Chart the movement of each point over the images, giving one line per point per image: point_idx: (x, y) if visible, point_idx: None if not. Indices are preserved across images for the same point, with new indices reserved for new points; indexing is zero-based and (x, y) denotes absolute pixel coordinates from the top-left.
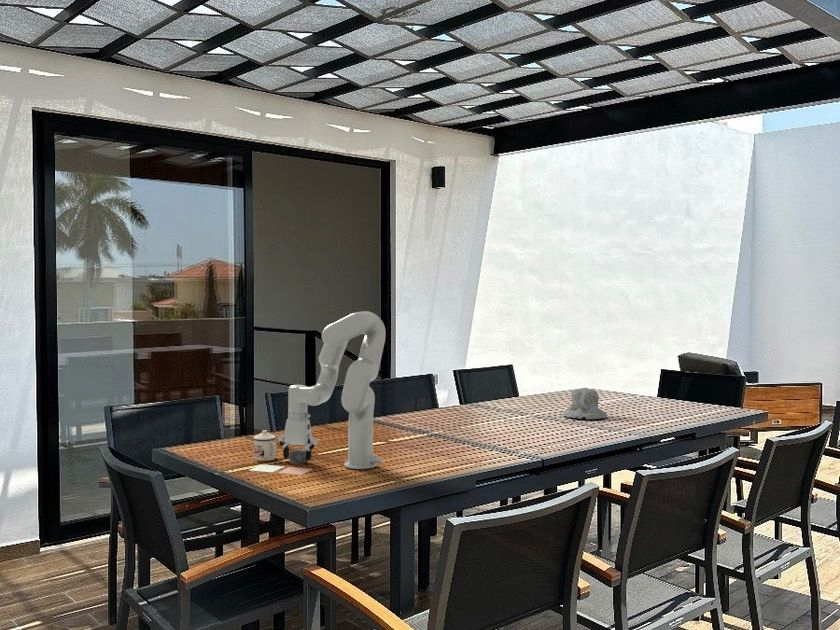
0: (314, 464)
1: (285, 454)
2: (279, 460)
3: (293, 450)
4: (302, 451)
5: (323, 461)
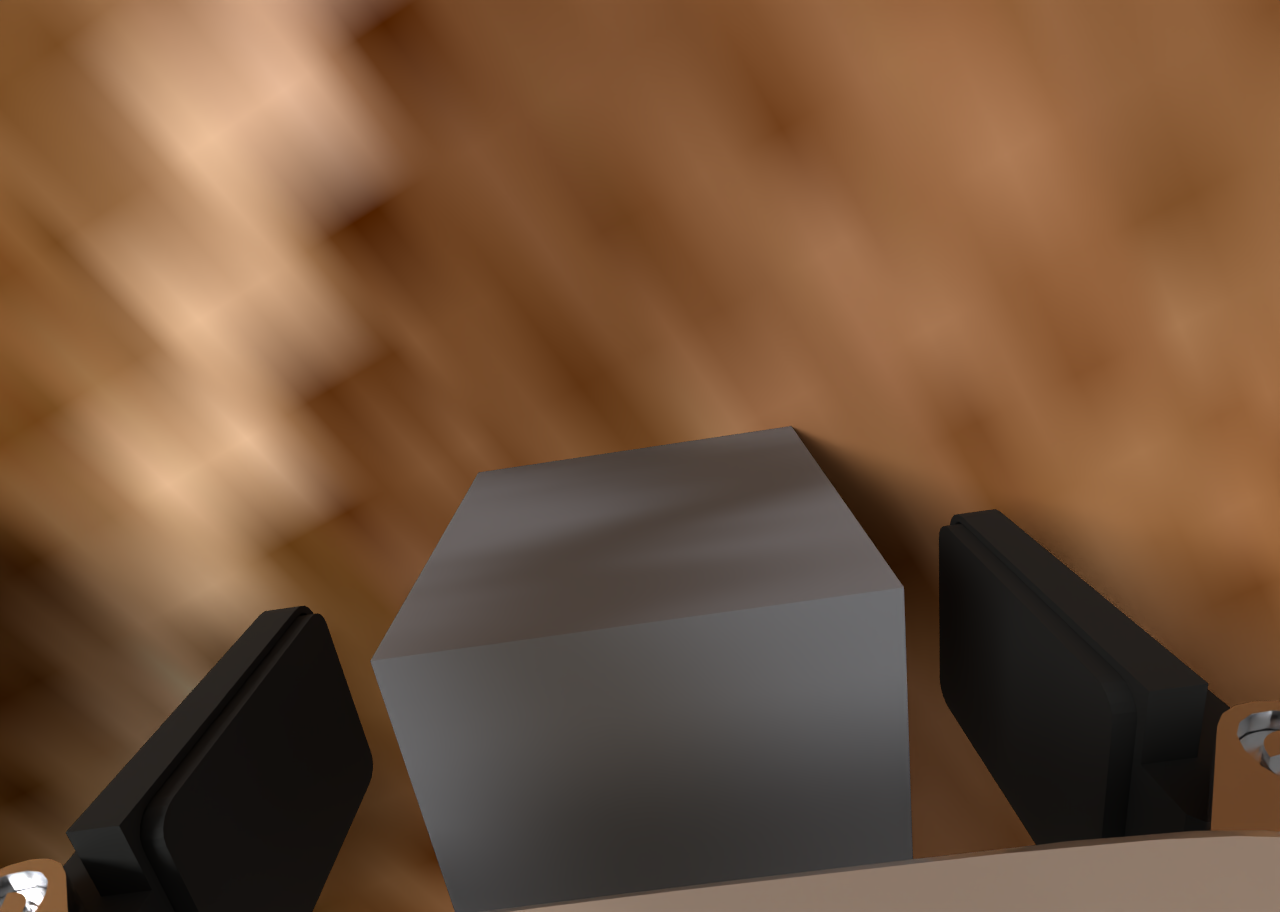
0: (1077, 505)
1: (328, 863)
2: (91, 559)
3: (464, 830)
4: (866, 813)
5: (1185, 91)
